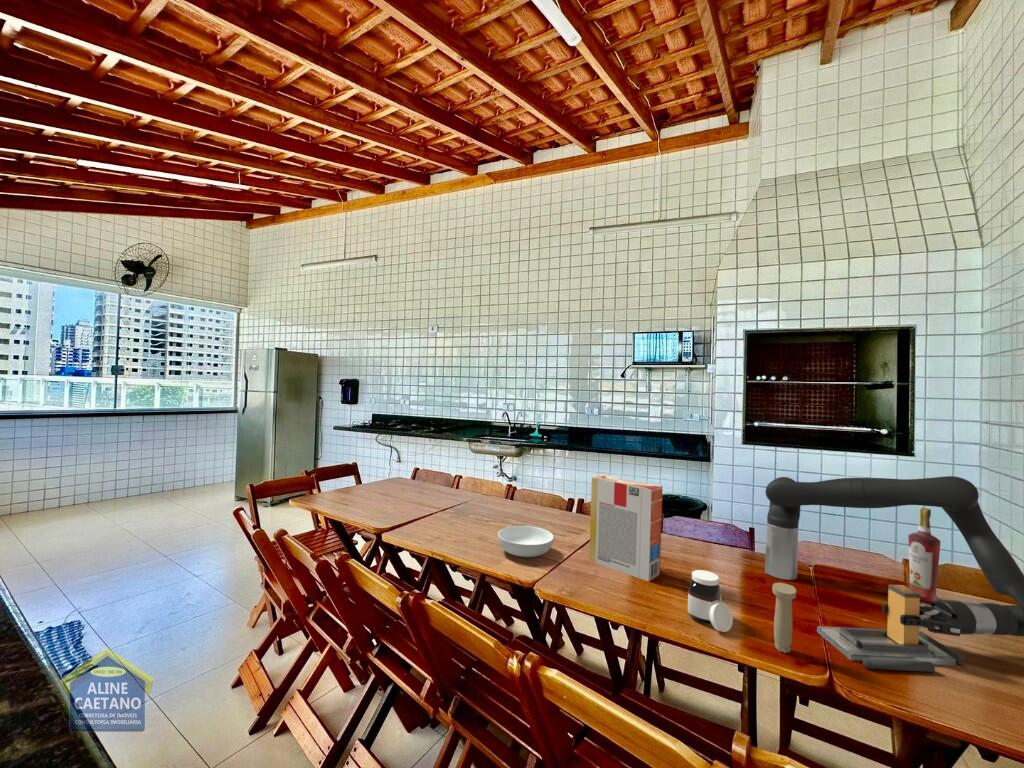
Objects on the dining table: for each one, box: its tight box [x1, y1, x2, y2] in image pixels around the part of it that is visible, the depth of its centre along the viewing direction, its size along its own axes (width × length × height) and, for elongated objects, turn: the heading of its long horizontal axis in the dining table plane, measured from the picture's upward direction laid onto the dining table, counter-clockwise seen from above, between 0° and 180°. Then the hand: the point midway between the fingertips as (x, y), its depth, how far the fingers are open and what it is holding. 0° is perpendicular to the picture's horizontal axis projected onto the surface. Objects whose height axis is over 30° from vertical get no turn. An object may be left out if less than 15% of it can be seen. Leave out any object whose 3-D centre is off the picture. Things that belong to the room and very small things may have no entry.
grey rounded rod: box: [862, 659, 936, 673], centre depth 100 cm, size 15×2×2 cm, turn 88°
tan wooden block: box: [886, 584, 921, 645], centre depth 109 cm, size 4×5×13 cm
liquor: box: [907, 507, 941, 603], centre depth 136 cm, size 7×7×28 cm
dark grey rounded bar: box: [919, 630, 965, 665], centre depth 108 cm, size 11×2×2 cm, turn 178°
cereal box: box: [588, 474, 663, 583], centre depth 153 cm, size 23×8×30 cm, turn 46°
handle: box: [771, 582, 797, 654], centre depth 107 cm, size 5×6×15 cm
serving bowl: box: [497, 525, 555, 558], centre depth 164 cm, size 21×21×7 cm
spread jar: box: [687, 569, 733, 633], centre depth 119 cm, size 12×11×12 cm
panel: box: [816, 625, 957, 667], centre depth 109 cm, size 24×12×3 cm, turn 88°
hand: (892, 614), depth 109 cm, fingers closed on tan wooden block, 4 cm apart
